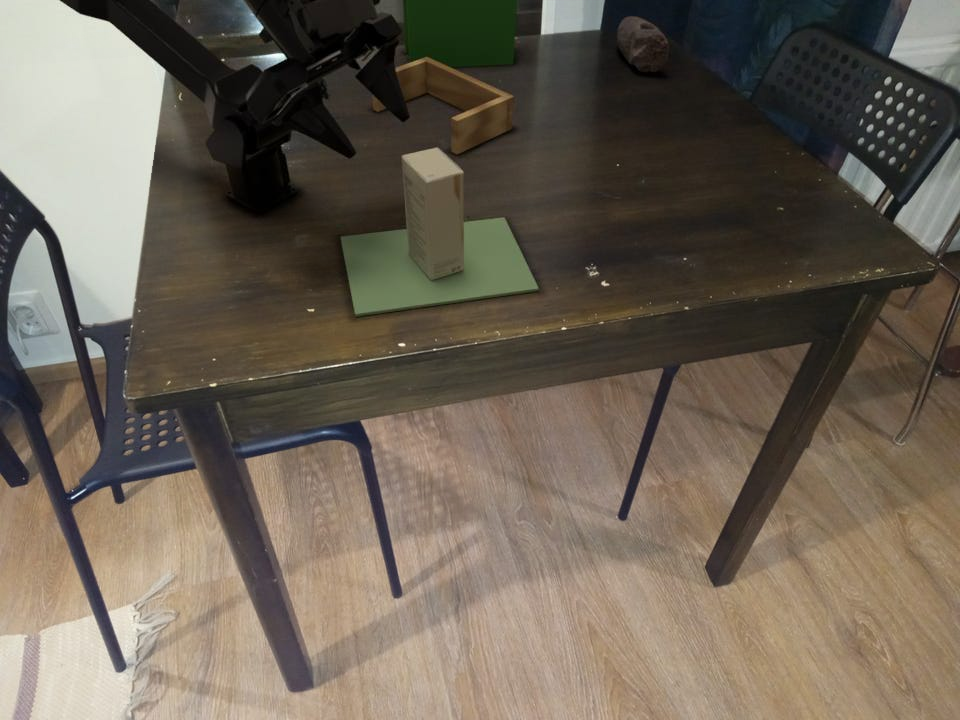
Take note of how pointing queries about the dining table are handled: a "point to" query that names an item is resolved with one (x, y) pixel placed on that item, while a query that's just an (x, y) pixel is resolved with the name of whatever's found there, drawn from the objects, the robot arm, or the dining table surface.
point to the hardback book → (460, 31)
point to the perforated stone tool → (642, 44)
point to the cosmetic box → (434, 211)
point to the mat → (403, 284)
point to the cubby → (458, 101)
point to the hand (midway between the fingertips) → (381, 137)
